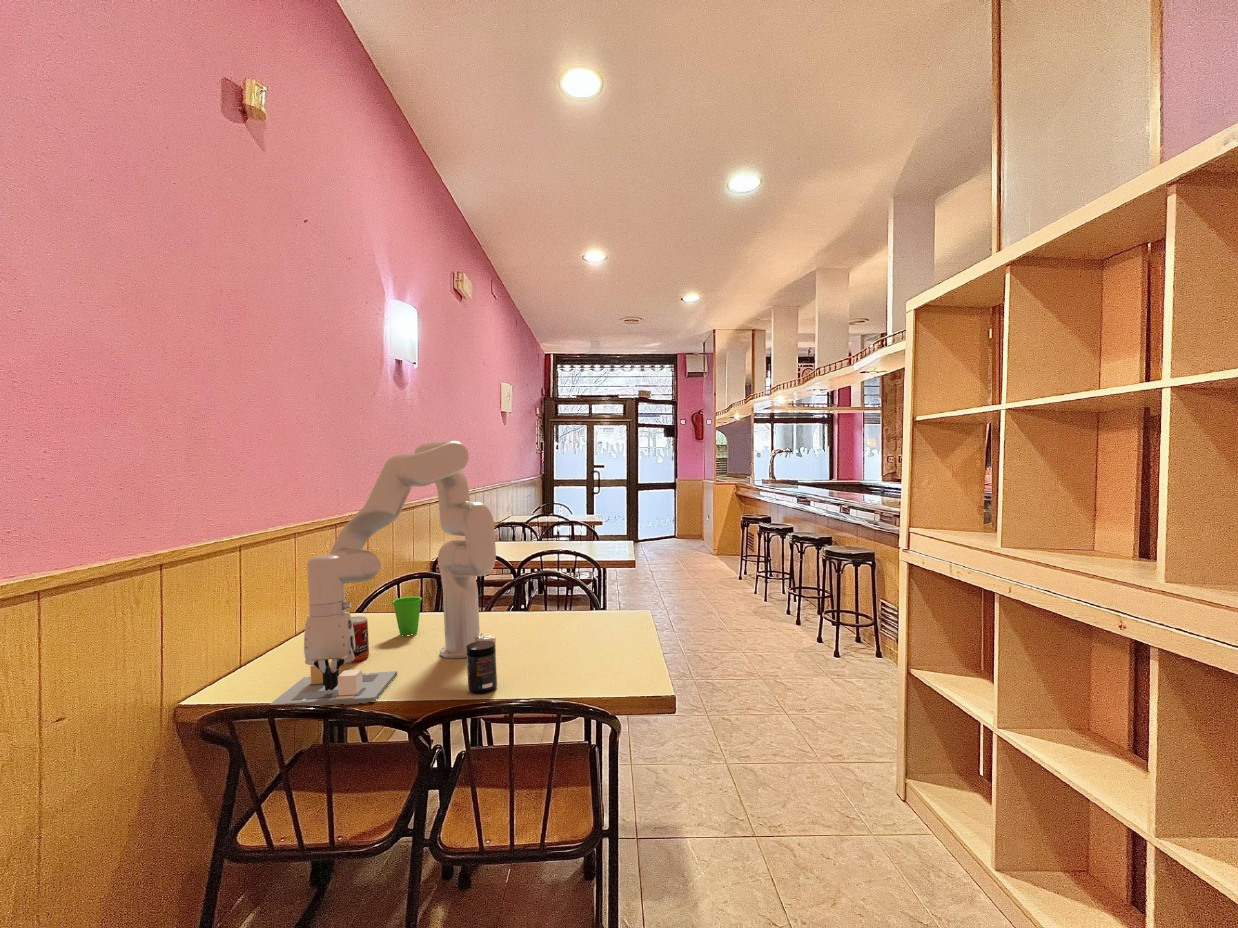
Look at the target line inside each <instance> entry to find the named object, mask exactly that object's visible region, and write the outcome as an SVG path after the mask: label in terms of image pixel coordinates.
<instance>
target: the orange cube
mask: <svg viewBox="0 0 1238 928" xmlns="http://www.w3.org/2000/svg"><path fill="white" fill-rule="evenodd" d="M329 663H330V667H331V663H332V659H329ZM309 666H310V677H311V684H322V683H323V673H321V672H320V670H319V669H318V668H317V667H316V666H315V665H309Z"/></svg>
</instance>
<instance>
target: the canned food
mask: <svg viewBox="0 0 1238 928" xmlns="http://www.w3.org/2000/svg"><path fill="white" fill-rule="evenodd" d="M351 619H352V624H353V629H354V636H355V650H354V651H353V653H354V656H355V659H354V660H353V661H351V662H348V663H347V664H355V662H356V663H359V662H358V661H360V662H363V661H365V660H367V659H368V658H369V657H370V645H369V623H368V617H367V616H360V615H359V616H351Z"/></svg>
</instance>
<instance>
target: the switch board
mask: <svg viewBox="0 0 1238 928" xmlns="http://www.w3.org/2000/svg"><path fill="white" fill-rule="evenodd" d="M396 676H397V677H398V670H395V671H380V672H364V673H363V672H362V682H363V688H362V689H361V690H360V691H359V693H358V694H356V695H342V696H339V693H338V685H337V686H336V687H335V688H334V689H333V690H325V686H324V685H323V683H322V684H311V676H308V677H305V676H304V677H302V678H301V679H299V680H298V681H297V682H296V683H295V684H293V685H292V686H291V687H290V688H288V689H287V690H286V691H284V692H283V693H282V694H281V695H280V696H278V697H277V698H276V699H274V700H273V701H272V702H271V703H269V705H285V704H288V705H289V704H296V705H334V706H336V705H335V704H344V705H343V706H345V705H346V706H347V705H359V703H362V704H368V703H367V702H372V701H376V699H378V698H380V697H381V696H382V695H383V694H382V692H383V693H385V691H386V690H387V689H388V688H389V686H390V685H391V684H392V683H391V681H393V682H394V680H395V679H396V678H397V677H396ZM395 677H396V678H395ZM394 678H395V679H394ZM393 679H394V680H393ZM390 683H391V684H390ZM389 684H390V685H389ZM388 685H389V686H388ZM387 687H388V688H387ZM386 688H387V689H386ZM385 689H386V690H385ZM384 690H385V691H384ZM381 694H382V695H381ZM380 695H381V696H380ZM379 696H380V697H379ZM378 700H379V699H378ZM376 702H377V701H376Z"/></svg>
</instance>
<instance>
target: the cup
mask: <svg viewBox="0 0 1238 928" xmlns="http://www.w3.org/2000/svg"><path fill="white" fill-rule="evenodd" d="M422 600H423V598H422V597H421V596H403V597H399V598H395V599H393V600H392V601H391V603H392V604H393V609H394V614H395V618H396V622H397V627H398V632H399V635H400V636H401V635H403V636H407V635H411V634H416V633H418V631H419V630H418V629H419V622H420V621H419V620H420V612H421V611H420V610H421V603H422ZM416 635H417V634H416ZM403 636H402V637H403ZM407 637H408V636H407Z"/></svg>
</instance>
